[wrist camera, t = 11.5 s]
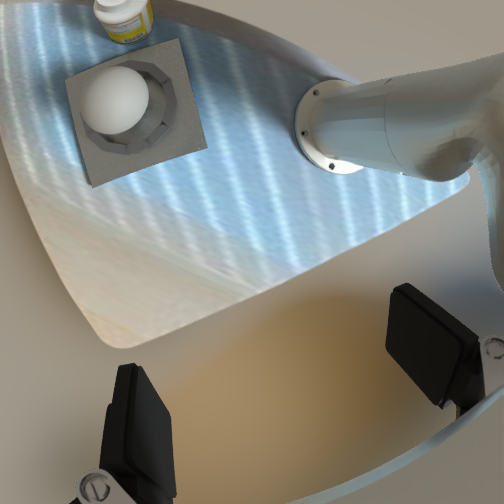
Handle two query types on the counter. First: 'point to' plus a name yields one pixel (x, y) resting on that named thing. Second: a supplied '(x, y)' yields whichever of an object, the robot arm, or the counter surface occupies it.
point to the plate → (173, 142)
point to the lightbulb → (114, 100)
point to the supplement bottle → (125, 19)
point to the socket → (158, 133)
